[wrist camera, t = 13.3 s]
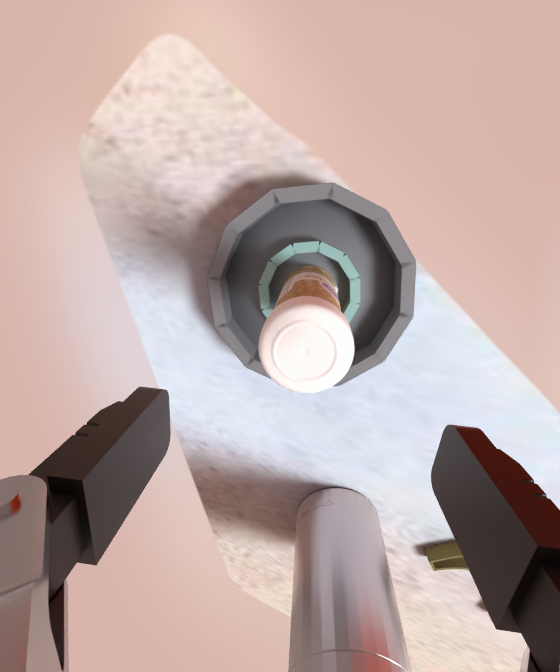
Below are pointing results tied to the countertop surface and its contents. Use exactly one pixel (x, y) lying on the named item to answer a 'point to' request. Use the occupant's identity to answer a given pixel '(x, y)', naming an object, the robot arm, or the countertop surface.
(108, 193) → the countertop surface
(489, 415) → the countertop surface
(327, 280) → the sprinkles bottle
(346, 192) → the grey ring dish
